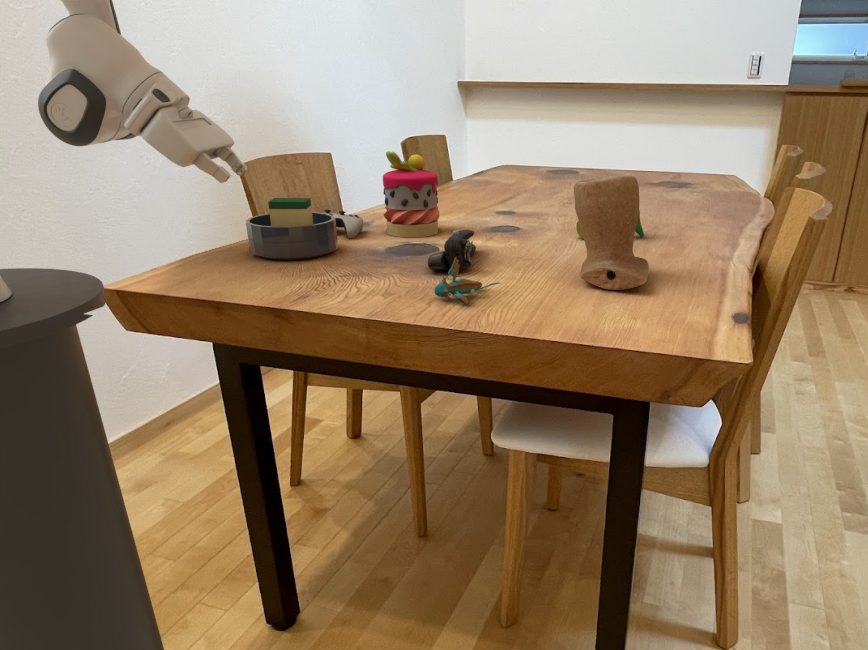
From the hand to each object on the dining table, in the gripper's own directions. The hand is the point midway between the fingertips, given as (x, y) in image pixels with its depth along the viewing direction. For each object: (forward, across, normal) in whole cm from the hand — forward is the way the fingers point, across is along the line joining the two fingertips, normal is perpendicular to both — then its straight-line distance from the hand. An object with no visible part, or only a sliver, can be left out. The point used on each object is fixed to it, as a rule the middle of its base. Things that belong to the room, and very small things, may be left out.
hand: (236, 176), depth 106 cm
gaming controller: (+18, -15, 0) cm, 23 cm away
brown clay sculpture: (+50, +19, +32) cm, 62 cm away
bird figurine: (+55, -13, +38) cm, 68 cm away
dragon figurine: (+35, +27, +17) cm, 47 cm away
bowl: (+14, 0, -3) cm, 15 cm away
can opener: (+34, +8, +16) cm, 39 cm away
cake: (+28, -17, +10) cm, 34 cm away
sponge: (+14, 0, -3) cm, 14 cm away
